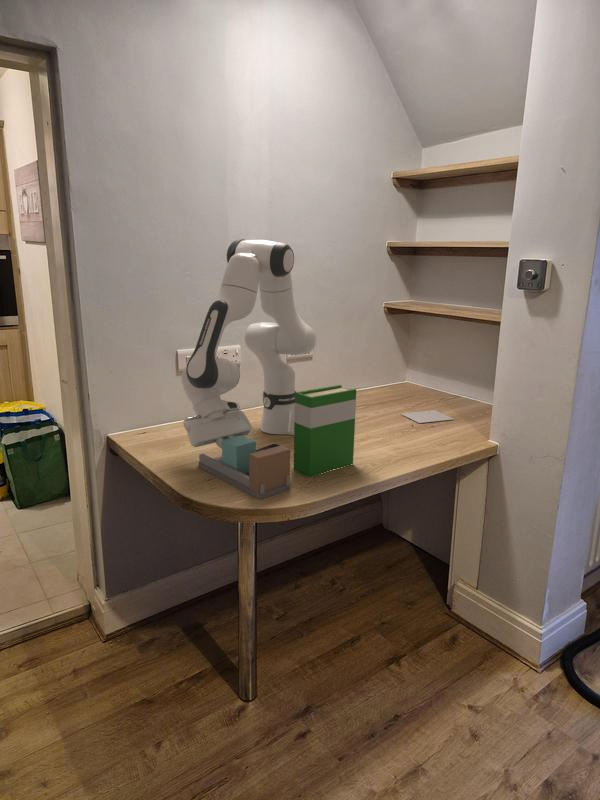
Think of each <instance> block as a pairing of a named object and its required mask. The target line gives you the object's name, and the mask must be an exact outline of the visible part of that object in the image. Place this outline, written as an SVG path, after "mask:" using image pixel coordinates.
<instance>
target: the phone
mask: <svg viewBox="0 0 600 800" xmlns="http://www.w3.org/2000/svg"><path fill="white" fill-rule="evenodd" d="M277 446H280V445H279V444H276V443H272V444H269V445H266V446H263V447H260V448H258V449H256V452H258V451H262V450H266V449H269V448H273V447H277ZM285 447H286V448H289V449H290V450H291V448H290V447H287V446H285Z"/></svg>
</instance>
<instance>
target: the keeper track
mask: <svg viewBox="0 0 600 800" xmlns="http://www.w3.org/2000/svg"><path fill="white" fill-rule="evenodd" d="M286 447H287V446H283V445H280V446H277V447H273V448H269V449H266V450H262V451H258V452H255V453H251V454H249V473H247V474H243V473H241V472H239V471H237V470H235V469H233V468H231V467H229V466H227V465H225V464H223V463H222V455H221V456H218V457H213V458H212V457H211V456H208V455H207V454H204V453H199V454H198V455H199V456H198V457H199V462H197V464H198V465H197V466H198V468H199V469H201V470H203V471H205V472H206V473H208V474H210V475H213V476H214V477H216V478H218V479H220V480H222V481H224V482H225V483H227V484H229V485H232V486H233V487H235V488H237V489H239V490H241V491H243V492H244V493H247V494H248V495H251V496H253V497H254V498H256V499H257V500H263V499H265V498H267V497H271V496H274V495H277V494H279V493H283V492H286V491H289V490H292V484H291V448H290V447H287V448H286ZM289 448H290V449H289Z"/></svg>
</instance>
